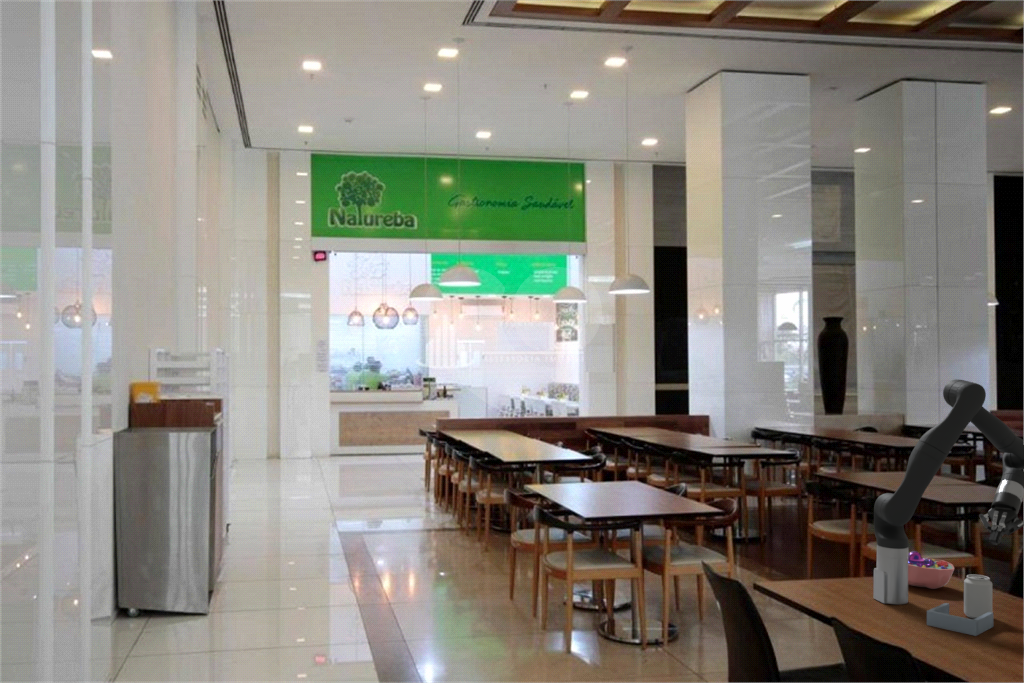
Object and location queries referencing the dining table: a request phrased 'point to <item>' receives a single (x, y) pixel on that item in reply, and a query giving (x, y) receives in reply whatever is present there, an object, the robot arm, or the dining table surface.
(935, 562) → the cell model
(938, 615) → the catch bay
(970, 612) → the can
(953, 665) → the dining table surface
